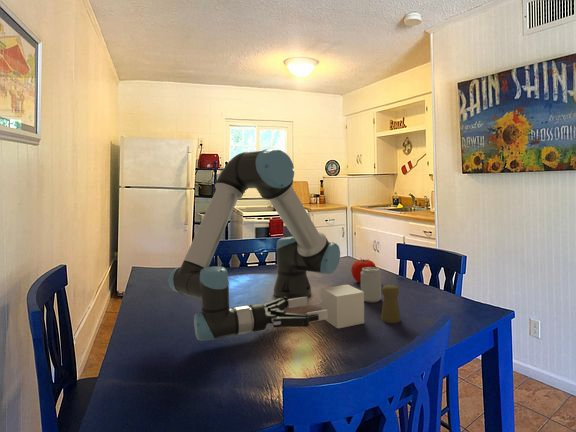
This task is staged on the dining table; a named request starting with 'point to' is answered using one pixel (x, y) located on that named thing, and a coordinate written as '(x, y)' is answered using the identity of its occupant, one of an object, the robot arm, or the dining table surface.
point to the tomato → (360, 268)
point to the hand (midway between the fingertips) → (316, 307)
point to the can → (371, 284)
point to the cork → (390, 304)
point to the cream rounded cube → (343, 305)
